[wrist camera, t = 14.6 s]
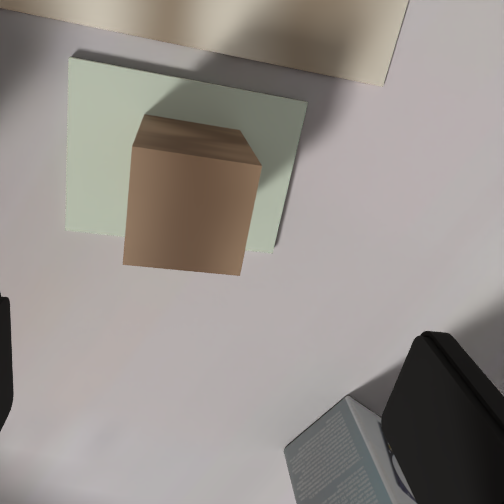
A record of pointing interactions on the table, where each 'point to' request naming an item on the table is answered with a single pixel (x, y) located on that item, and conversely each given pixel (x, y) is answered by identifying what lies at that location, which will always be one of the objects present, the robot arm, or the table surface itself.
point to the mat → (175, 107)
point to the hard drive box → (346, 460)
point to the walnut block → (189, 197)
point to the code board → (253, 29)
